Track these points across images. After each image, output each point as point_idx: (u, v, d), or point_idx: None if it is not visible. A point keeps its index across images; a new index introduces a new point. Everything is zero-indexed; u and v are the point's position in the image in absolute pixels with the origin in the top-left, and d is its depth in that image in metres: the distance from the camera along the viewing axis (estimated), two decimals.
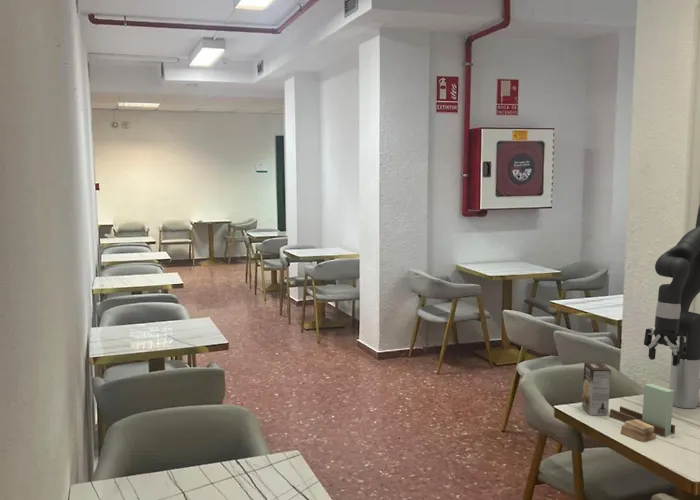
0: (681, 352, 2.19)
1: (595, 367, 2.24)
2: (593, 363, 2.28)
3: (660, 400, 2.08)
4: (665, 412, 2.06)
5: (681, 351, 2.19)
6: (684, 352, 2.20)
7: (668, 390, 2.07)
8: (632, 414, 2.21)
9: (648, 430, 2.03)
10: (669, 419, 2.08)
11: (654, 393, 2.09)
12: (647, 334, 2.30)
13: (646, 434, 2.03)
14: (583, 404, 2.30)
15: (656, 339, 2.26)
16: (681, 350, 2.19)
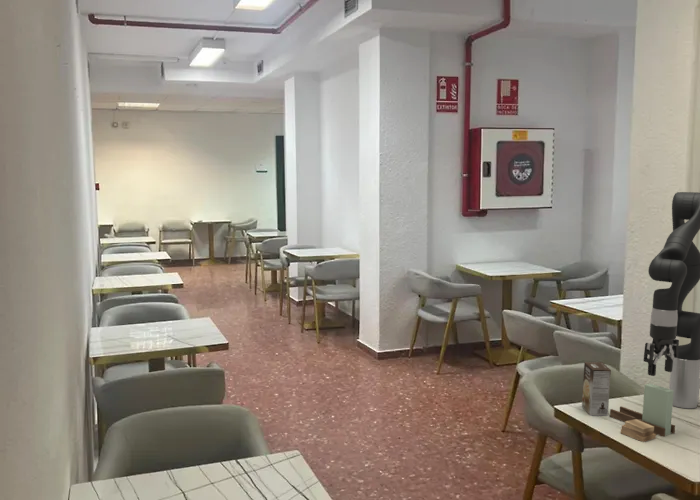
0: (677, 355, 2.11)
1: (595, 367, 2.24)
2: (593, 363, 2.28)
3: (660, 400, 2.08)
4: (665, 412, 2.06)
5: (677, 354, 2.11)
6: None
7: (668, 390, 2.07)
8: (632, 414, 2.21)
9: (648, 430, 2.03)
10: (669, 419, 2.08)
11: (654, 393, 2.09)
12: (653, 350, 2.04)
13: (646, 434, 2.03)
14: (583, 404, 2.30)
15: (662, 351, 2.06)
16: (677, 353, 2.11)
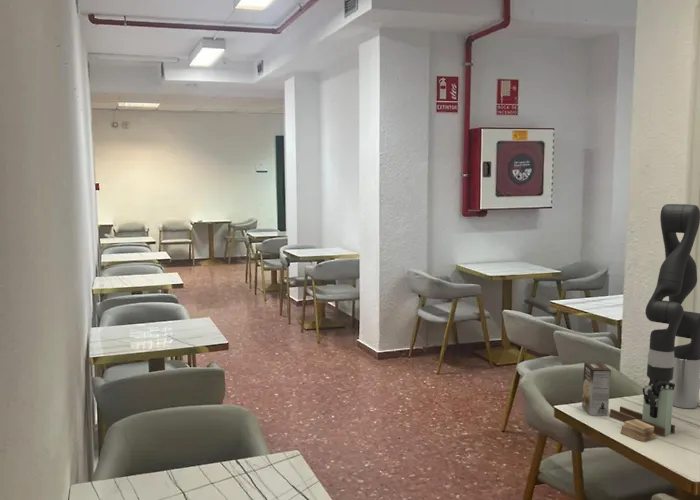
0: None
1: (595, 367, 2.24)
2: (593, 363, 2.28)
3: (660, 399, 2.08)
4: (665, 412, 2.06)
5: None
6: None
7: (668, 390, 2.07)
8: (632, 414, 2.21)
9: (648, 430, 2.03)
10: (669, 419, 2.08)
11: None
12: (651, 394, 2.06)
13: (646, 434, 2.03)
14: (583, 404, 2.30)
15: None
16: None
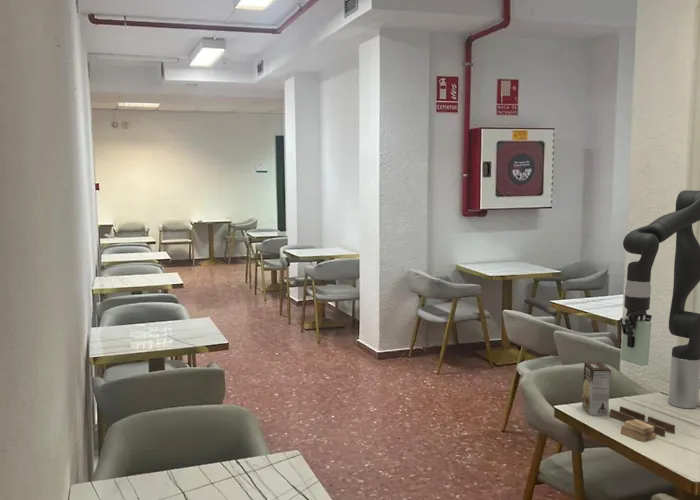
0: None
1: (595, 367, 2.24)
2: (593, 363, 2.28)
3: (638, 331, 2.13)
4: (643, 343, 2.12)
5: None
6: None
7: (646, 322, 2.12)
8: (632, 414, 2.21)
9: (648, 430, 2.03)
10: (647, 350, 2.13)
11: (632, 325, 2.15)
12: (629, 324, 2.12)
13: (646, 434, 2.03)
14: (583, 404, 2.30)
15: (637, 322, 2.13)
16: None
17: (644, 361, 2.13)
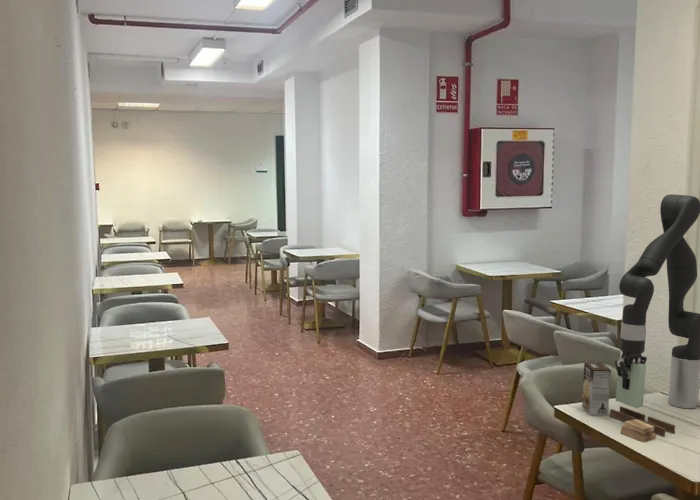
0: None
1: (595, 367, 2.24)
2: (593, 363, 2.28)
3: (633, 374, 2.16)
4: (638, 385, 2.14)
5: None
6: None
7: (641, 364, 2.15)
8: (632, 414, 2.21)
9: (648, 430, 2.03)
10: (641, 392, 2.15)
11: None
12: (623, 366, 2.14)
13: (646, 434, 2.03)
14: (583, 404, 2.30)
15: (632, 365, 2.16)
16: None
17: (639, 403, 2.15)
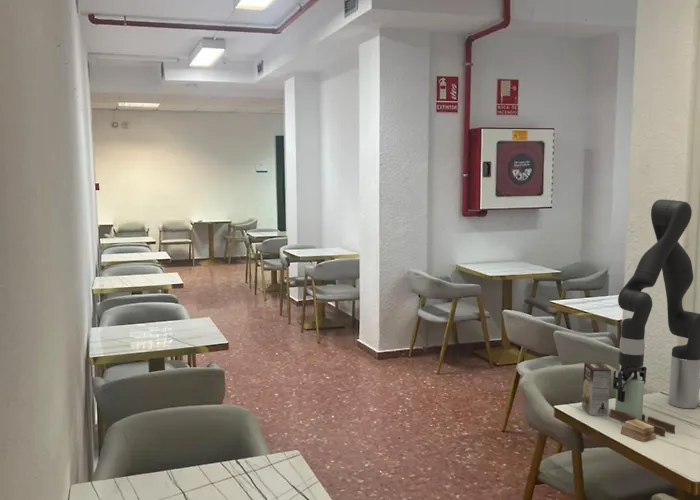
0: (644, 382, 2.21)
1: (595, 367, 2.24)
2: (593, 363, 2.28)
3: (631, 390, 2.17)
4: (636, 402, 2.15)
5: (644, 381, 2.21)
6: None
7: (639, 381, 2.16)
8: None
9: (648, 430, 2.03)
10: (640, 409, 2.16)
11: None
12: (621, 378, 2.14)
13: (646, 434, 2.03)
14: (583, 404, 2.30)
15: (630, 378, 2.16)
16: (644, 380, 2.21)
17: None
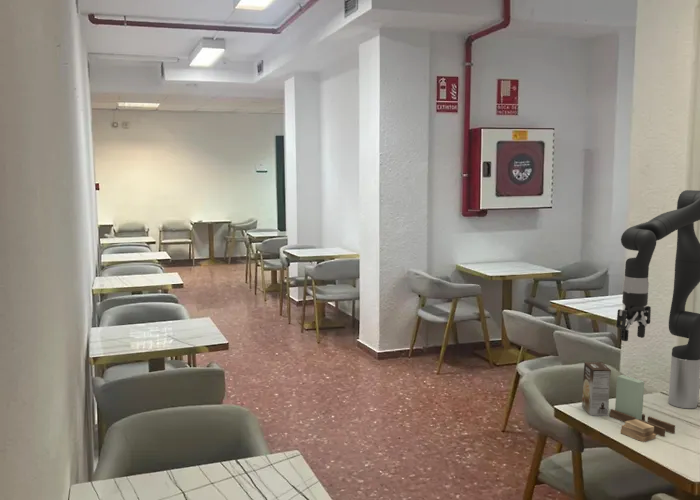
0: (649, 321, 2.20)
1: (595, 367, 2.24)
2: (593, 363, 2.28)
3: (631, 390, 2.17)
4: (636, 402, 2.15)
5: (649, 320, 2.20)
6: None
7: (639, 381, 2.16)
8: None
9: (648, 430, 2.03)
10: (640, 409, 2.16)
11: (626, 384, 2.18)
12: (625, 316, 2.13)
13: (646, 434, 2.03)
14: (583, 404, 2.30)
15: (634, 318, 2.14)
16: (649, 319, 2.20)
17: None
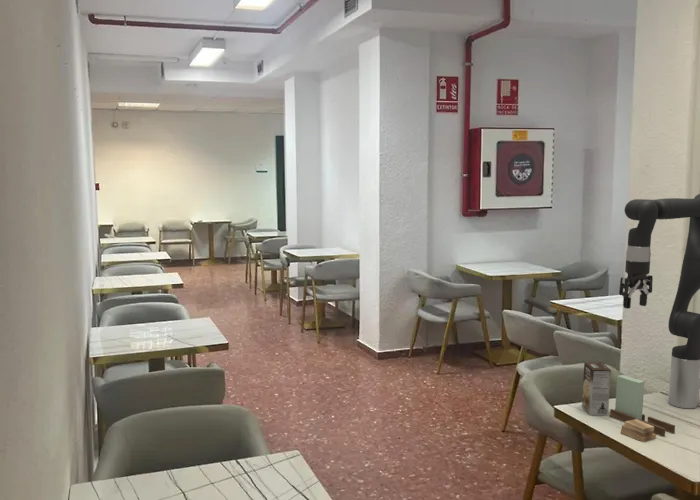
0: (651, 290, 2.27)
1: (595, 367, 2.24)
2: (593, 363, 2.28)
3: (631, 390, 2.17)
4: (636, 402, 2.15)
5: (651, 289, 2.26)
6: None
7: (639, 381, 2.16)
8: None
9: (648, 430, 2.03)
10: (640, 409, 2.16)
11: (626, 384, 2.18)
12: (628, 284, 2.20)
13: (646, 434, 2.03)
14: (583, 404, 2.30)
15: (636, 286, 2.21)
16: (651, 288, 2.26)
17: None
